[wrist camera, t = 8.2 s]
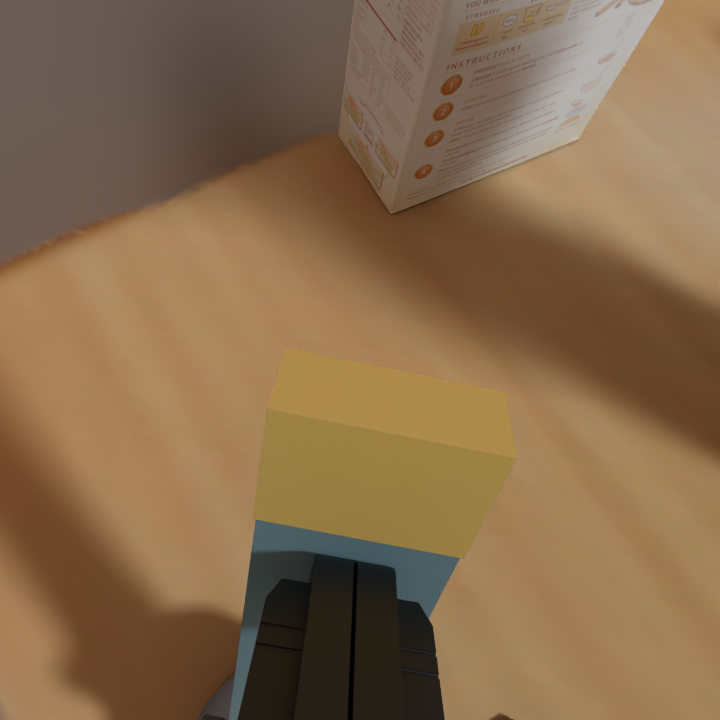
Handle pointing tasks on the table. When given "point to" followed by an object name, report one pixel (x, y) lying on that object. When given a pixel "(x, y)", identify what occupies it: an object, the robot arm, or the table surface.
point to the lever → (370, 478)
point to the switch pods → (220, 702)
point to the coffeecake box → (475, 85)
